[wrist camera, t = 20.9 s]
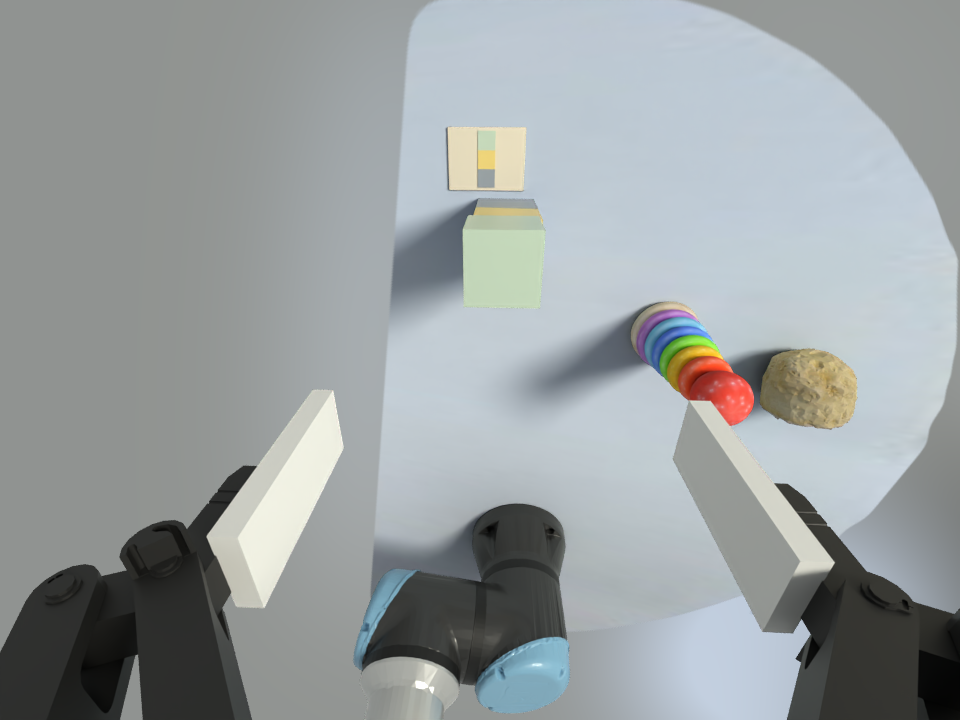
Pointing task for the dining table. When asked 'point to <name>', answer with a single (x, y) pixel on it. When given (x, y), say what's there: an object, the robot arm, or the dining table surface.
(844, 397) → the tan rough rounded lump
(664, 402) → the dining table surface
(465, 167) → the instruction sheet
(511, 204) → the slate brick
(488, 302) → the sage brick
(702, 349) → the stacking toy
